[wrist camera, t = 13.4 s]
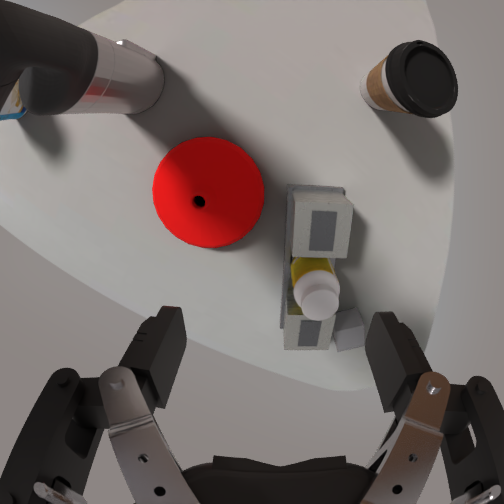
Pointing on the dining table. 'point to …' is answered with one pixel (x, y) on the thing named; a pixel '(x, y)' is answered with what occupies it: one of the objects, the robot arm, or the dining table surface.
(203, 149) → the red disc with nozzle
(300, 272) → the pill bottle
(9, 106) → the beverage bottle
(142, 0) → the dining table surface
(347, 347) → the gray block
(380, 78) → the coffee cup
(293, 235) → the white twin-block stand
